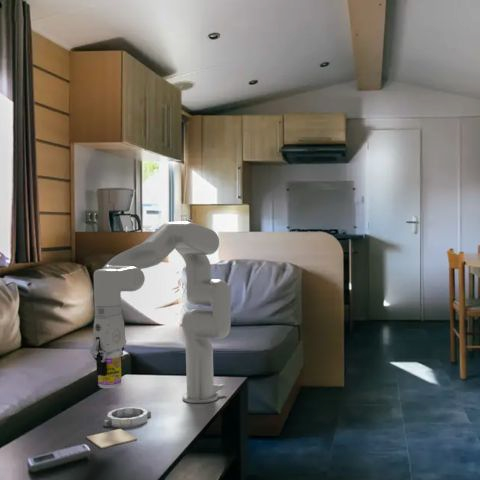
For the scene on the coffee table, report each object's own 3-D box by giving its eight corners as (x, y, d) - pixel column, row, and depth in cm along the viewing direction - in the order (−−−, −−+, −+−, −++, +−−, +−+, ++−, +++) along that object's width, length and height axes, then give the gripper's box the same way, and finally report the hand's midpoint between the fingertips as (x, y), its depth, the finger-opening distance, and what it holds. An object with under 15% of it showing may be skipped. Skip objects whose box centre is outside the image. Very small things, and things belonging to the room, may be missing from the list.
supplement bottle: (99, 389, 182) (98, 345, 181) (97, 384, 188) (95, 341, 187) (123, 387, 184) (122, 343, 183) (119, 381, 190) (118, 339, 189)
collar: (140, 411, 212) (140, 404, 212) (158, 420, 202) (158, 412, 202) (97, 421, 203) (96, 413, 203) (113, 431, 193) (113, 423, 193)
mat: (120, 429, 194) (120, 428, 194) (136, 439, 185) (136, 438, 185) (86, 437, 187) (86, 436, 187) (101, 448, 178) (101, 447, 178)
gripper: (100, 316, 175) (102, 380, 176) (135, 307, 191) (137, 366, 192) (78, 315, 179) (80, 378, 179) (114, 306, 194) (116, 364, 195)
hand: (109, 371), depth 186 cm, fingers closed on supplement bottle, 6 cm apart
